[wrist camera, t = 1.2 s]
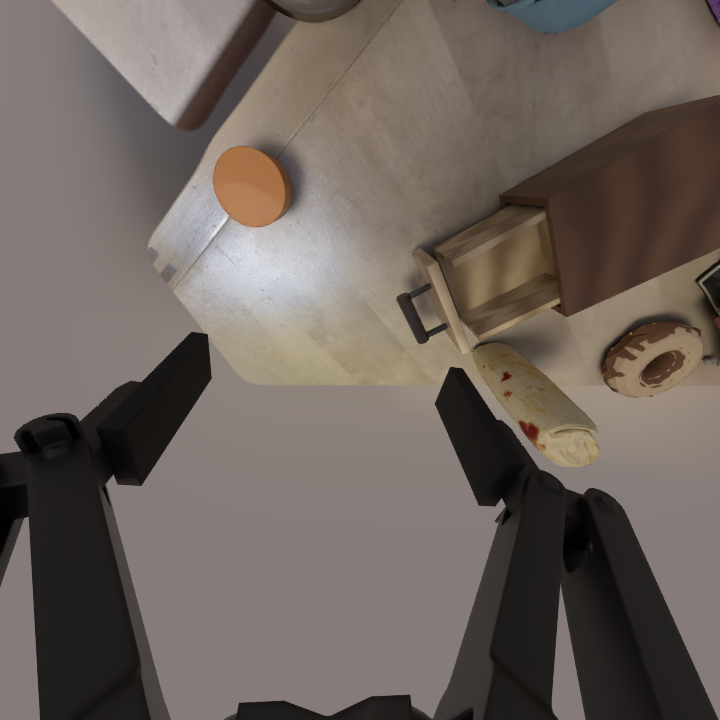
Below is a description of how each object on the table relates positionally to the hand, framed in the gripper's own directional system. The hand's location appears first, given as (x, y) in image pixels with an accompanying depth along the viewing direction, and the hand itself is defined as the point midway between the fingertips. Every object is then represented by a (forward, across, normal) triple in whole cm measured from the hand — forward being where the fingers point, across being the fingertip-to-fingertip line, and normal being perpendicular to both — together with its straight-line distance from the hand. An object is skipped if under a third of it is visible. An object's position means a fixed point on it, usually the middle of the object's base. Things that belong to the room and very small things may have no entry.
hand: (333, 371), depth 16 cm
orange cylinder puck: (+26, -10, +7) cm, 29 cm away
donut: (+21, +52, -6) cm, 56 cm away
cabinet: (+26, +29, +11) cm, 41 cm away
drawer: (+25, +18, +2) cm, 31 cm away
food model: (+26, +28, -11) cm, 39 cm away
